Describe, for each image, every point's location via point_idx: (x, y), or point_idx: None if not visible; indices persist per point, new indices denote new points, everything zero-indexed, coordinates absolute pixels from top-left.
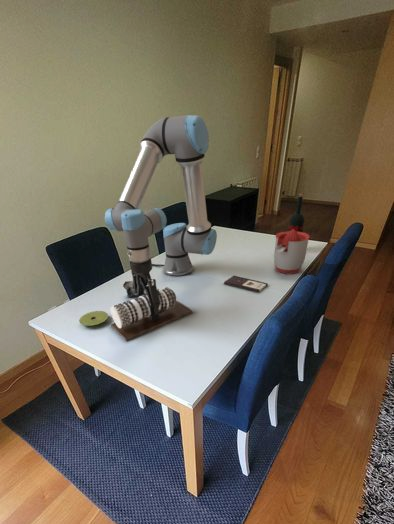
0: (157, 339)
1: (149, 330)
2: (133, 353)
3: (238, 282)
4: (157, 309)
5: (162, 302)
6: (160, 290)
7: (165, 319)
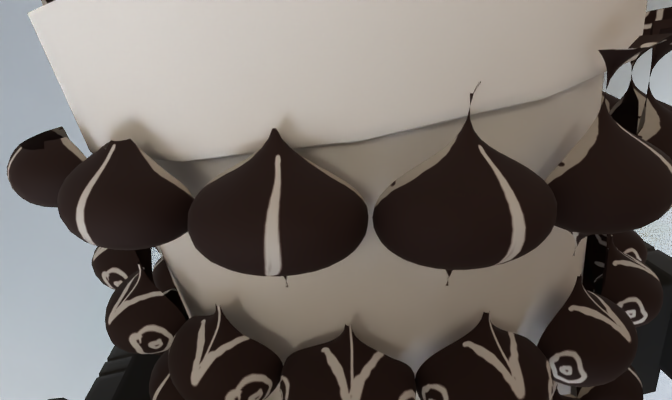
0: (652, 240)
1: None
2: (652, 396)
3: None
4: (664, 260)
5: (627, 123)
6: (325, 6)
7: None
